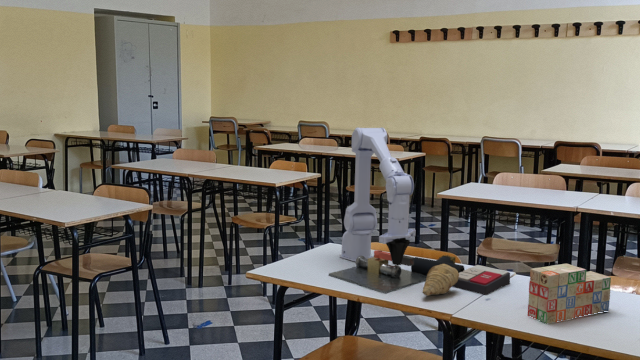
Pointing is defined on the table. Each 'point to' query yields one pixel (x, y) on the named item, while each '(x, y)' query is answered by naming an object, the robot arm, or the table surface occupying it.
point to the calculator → (482, 279)
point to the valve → (378, 275)
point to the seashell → (440, 279)
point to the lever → (387, 256)
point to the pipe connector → (434, 264)
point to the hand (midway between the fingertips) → (396, 264)
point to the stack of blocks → (566, 293)
